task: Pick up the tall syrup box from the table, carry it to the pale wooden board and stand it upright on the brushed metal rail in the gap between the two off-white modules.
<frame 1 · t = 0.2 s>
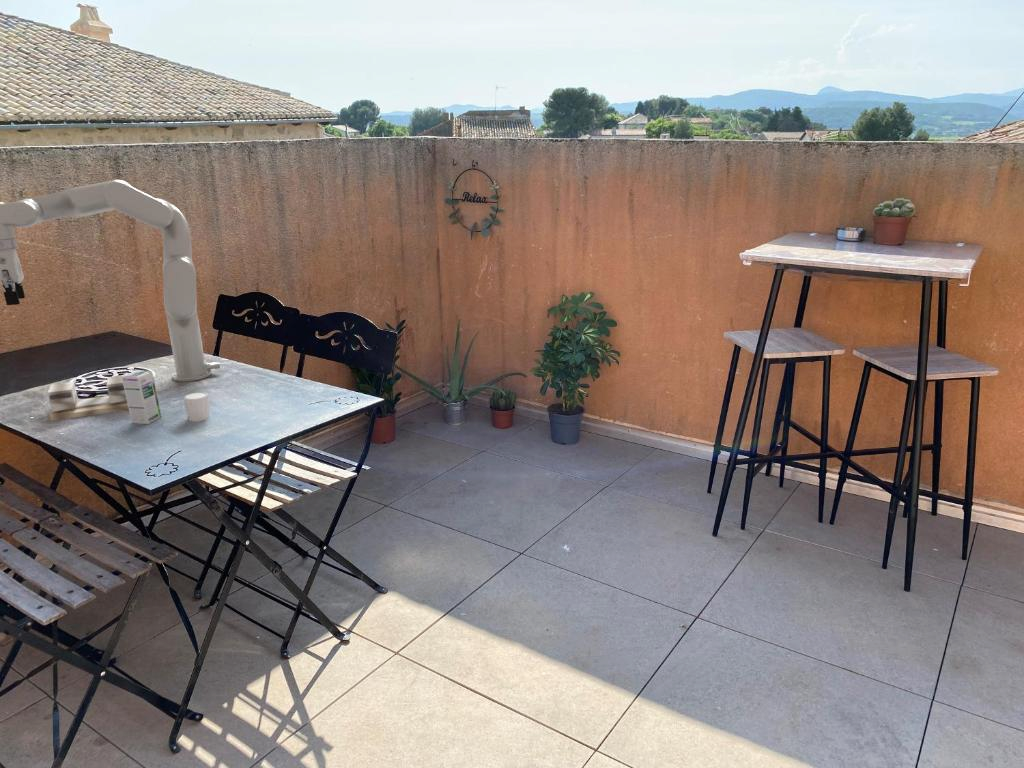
hand: (16, 301, 207), 31 cm above the table, tool pointing down, fingers open, 9 cm apart
syrup box: (146, 420, 199), on the table
shot glass: (199, 418, 201), on the table
rail board: (95, 408, 208), on the table
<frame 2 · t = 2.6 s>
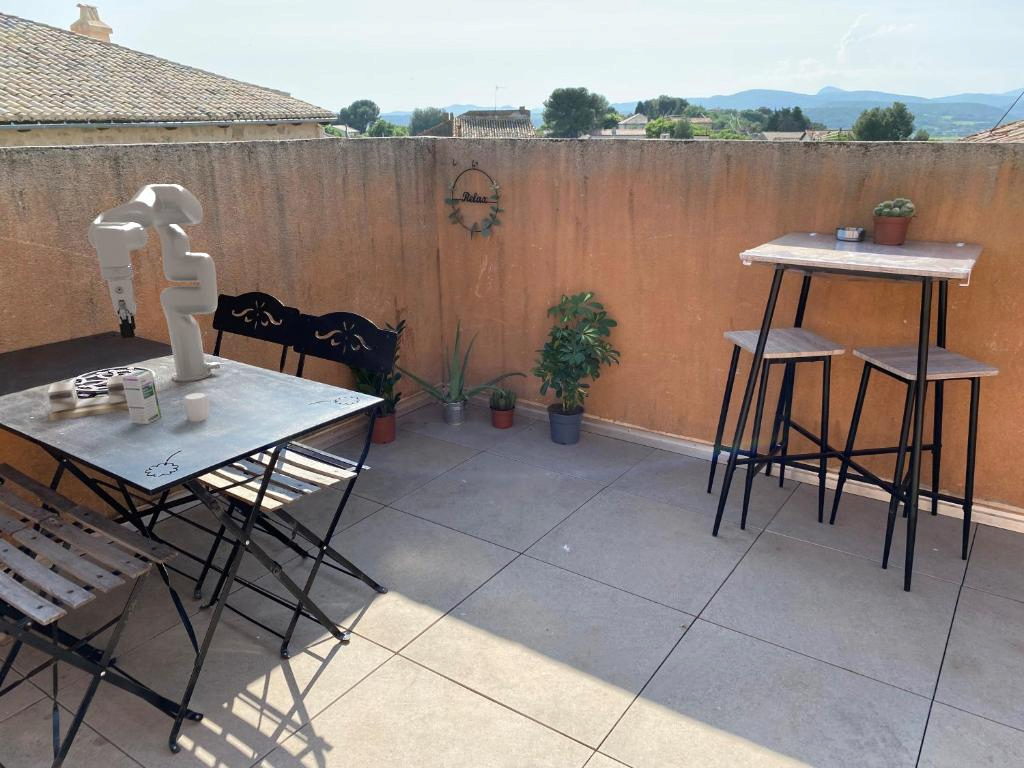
hand: (129, 333, 190), 26 cm above the table, tool pointing down, fingers open, 9 cm apart
nothing on the table moved.
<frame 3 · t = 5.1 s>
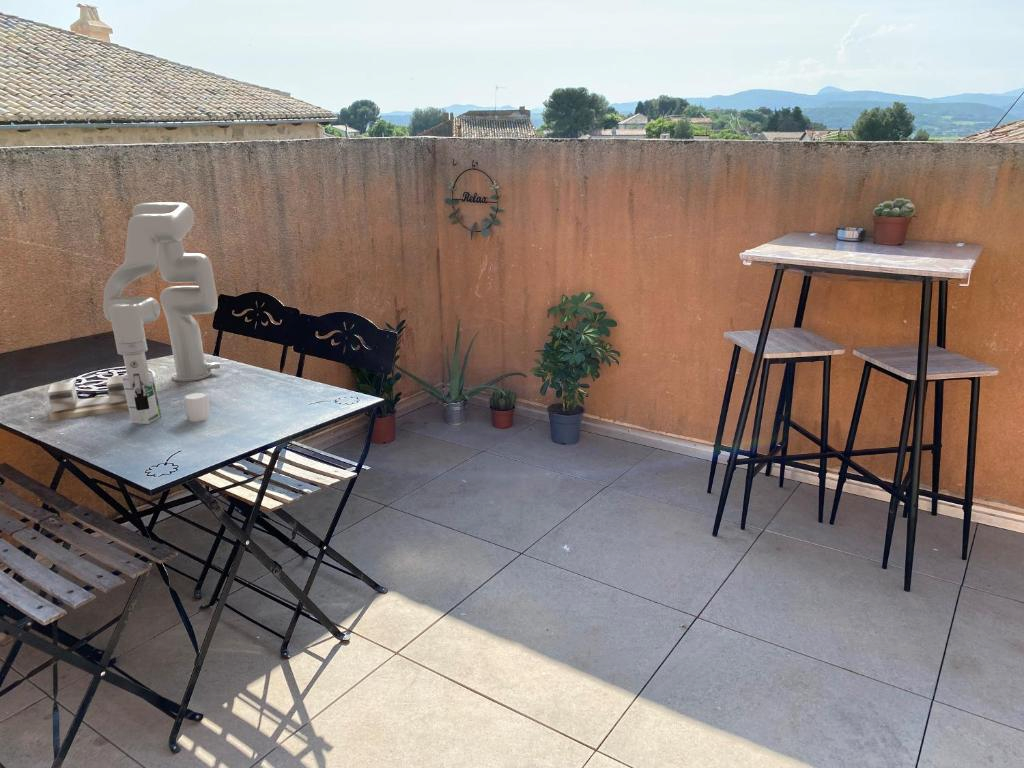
hand: (143, 404, 197), 5 cm above the table, tool pointing down, fingers closed on syrup box, 7 cm apart
syrup box: (146, 420, 199), on the table, touching gripper
everything else where it was.
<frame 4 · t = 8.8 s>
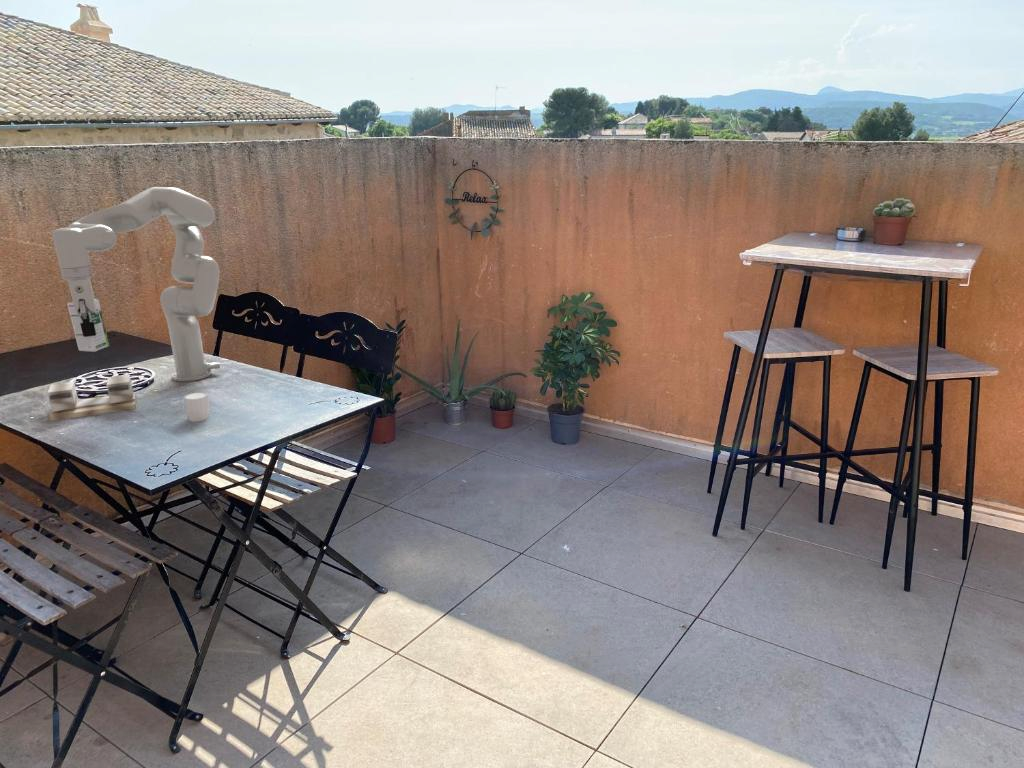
hand: (90, 332, 198), 25 cm above the table, tool pointing down, fingers closed on syrup box, 7 cm apart
syrup box: (94, 349, 200), point 19 cm above the table, touching gripper
everything else where it was.
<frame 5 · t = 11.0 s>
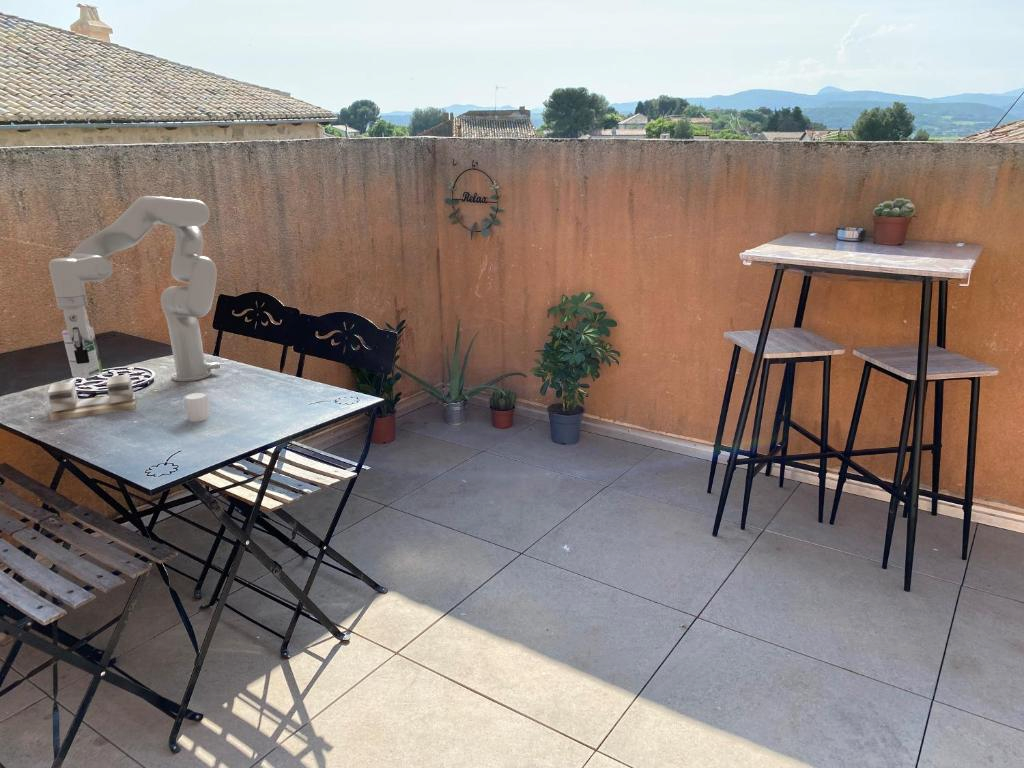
hand: (84, 359, 203), 16 cm above the table, tool pointing down, fingers closed on syrup box, 7 cm apart
syrup box: (87, 375, 205), point 11 cm above the table, touching gripper
everything else where it was.
when the fingers open (9 cm above the table, at t = 12.9 s): syrup box drops 2 cm, resting on rail board.
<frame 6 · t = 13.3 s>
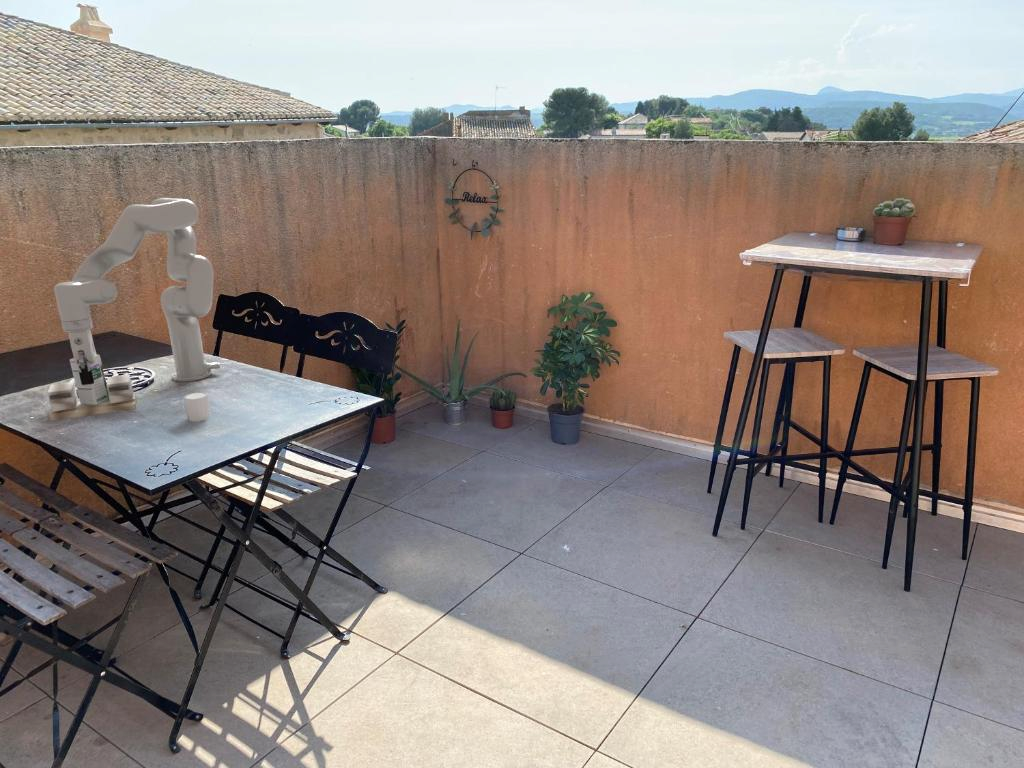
hand: (89, 379, 205), 9 cm above the table, tool pointing down, fingers open, 9 cm apart
syrup box: (95, 401, 208), point 2 cm above the table, touching rail board
everything else where it was.
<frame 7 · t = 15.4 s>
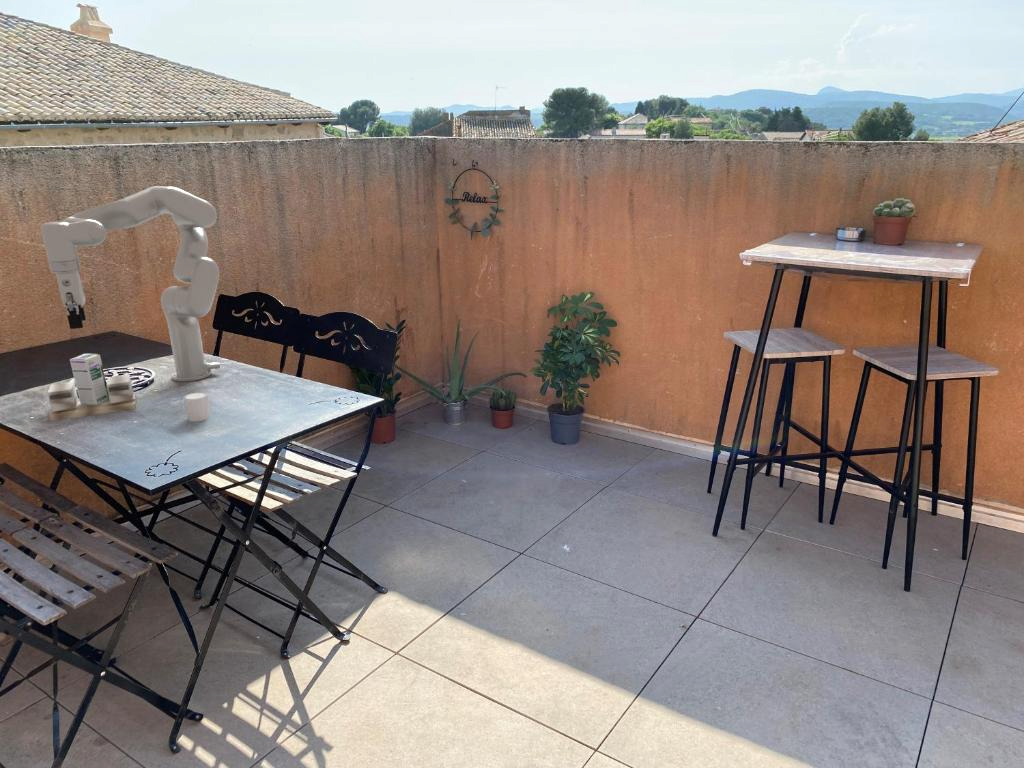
hand: (78, 324, 200), 26 cm above the table, tool pointing down, fingers open, 9 cm apart
nothing on the table moved.
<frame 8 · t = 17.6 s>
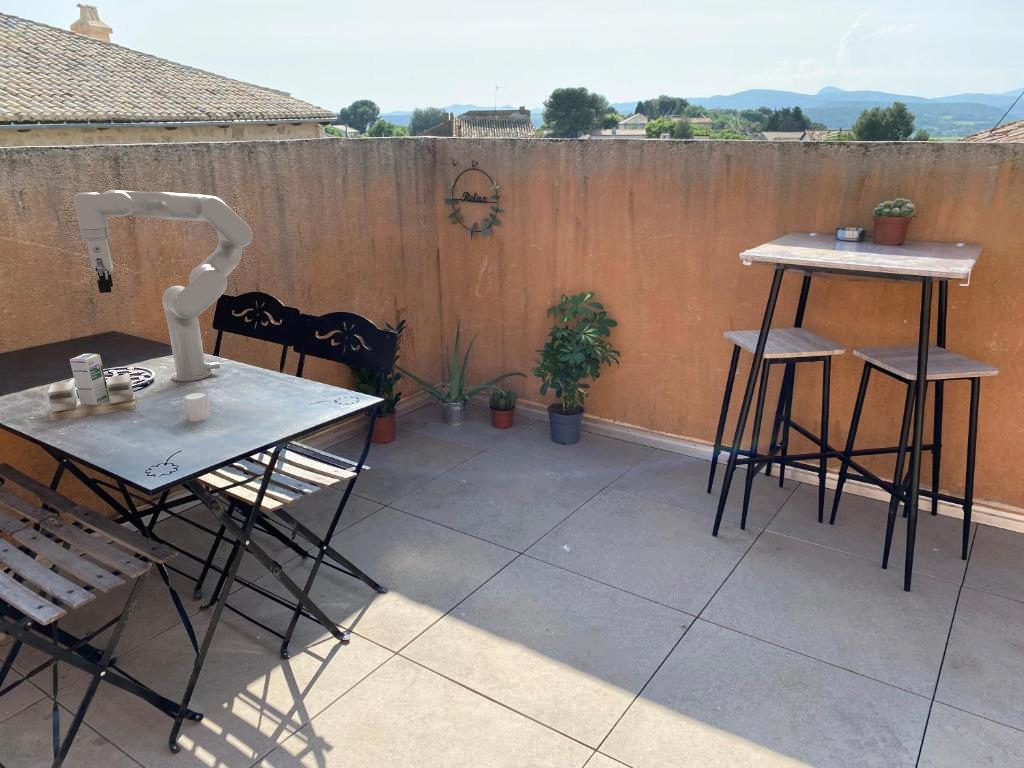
hand: (106, 289, 213), 33 cm above the table, tool pointing down, fingers open, 9 cm apart
nothing on the table moved.
at the end: syrup box 0.3 cm off-centre on the rail board, point 1.9 cm above the rail board's base; syrup box tilted 0°; the gripper is holding nothing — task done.
